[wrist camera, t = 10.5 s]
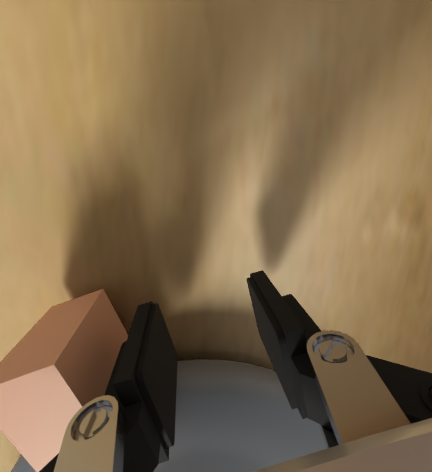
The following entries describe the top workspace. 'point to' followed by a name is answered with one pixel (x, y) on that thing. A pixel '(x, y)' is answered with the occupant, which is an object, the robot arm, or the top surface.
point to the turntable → (187, 397)
